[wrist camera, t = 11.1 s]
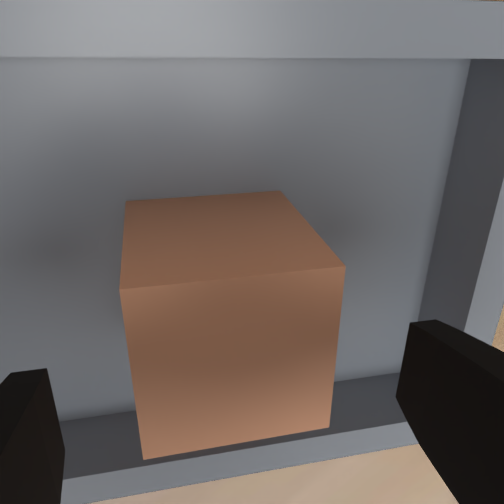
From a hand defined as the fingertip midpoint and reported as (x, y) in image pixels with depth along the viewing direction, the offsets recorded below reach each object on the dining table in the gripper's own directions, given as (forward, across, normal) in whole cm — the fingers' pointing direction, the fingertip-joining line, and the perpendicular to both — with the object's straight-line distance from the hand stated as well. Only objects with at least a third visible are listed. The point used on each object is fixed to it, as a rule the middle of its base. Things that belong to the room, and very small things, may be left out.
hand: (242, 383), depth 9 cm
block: (+6, 0, 0) cm, 6 cm away
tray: (+6, 0, 0) cm, 6 cm away
